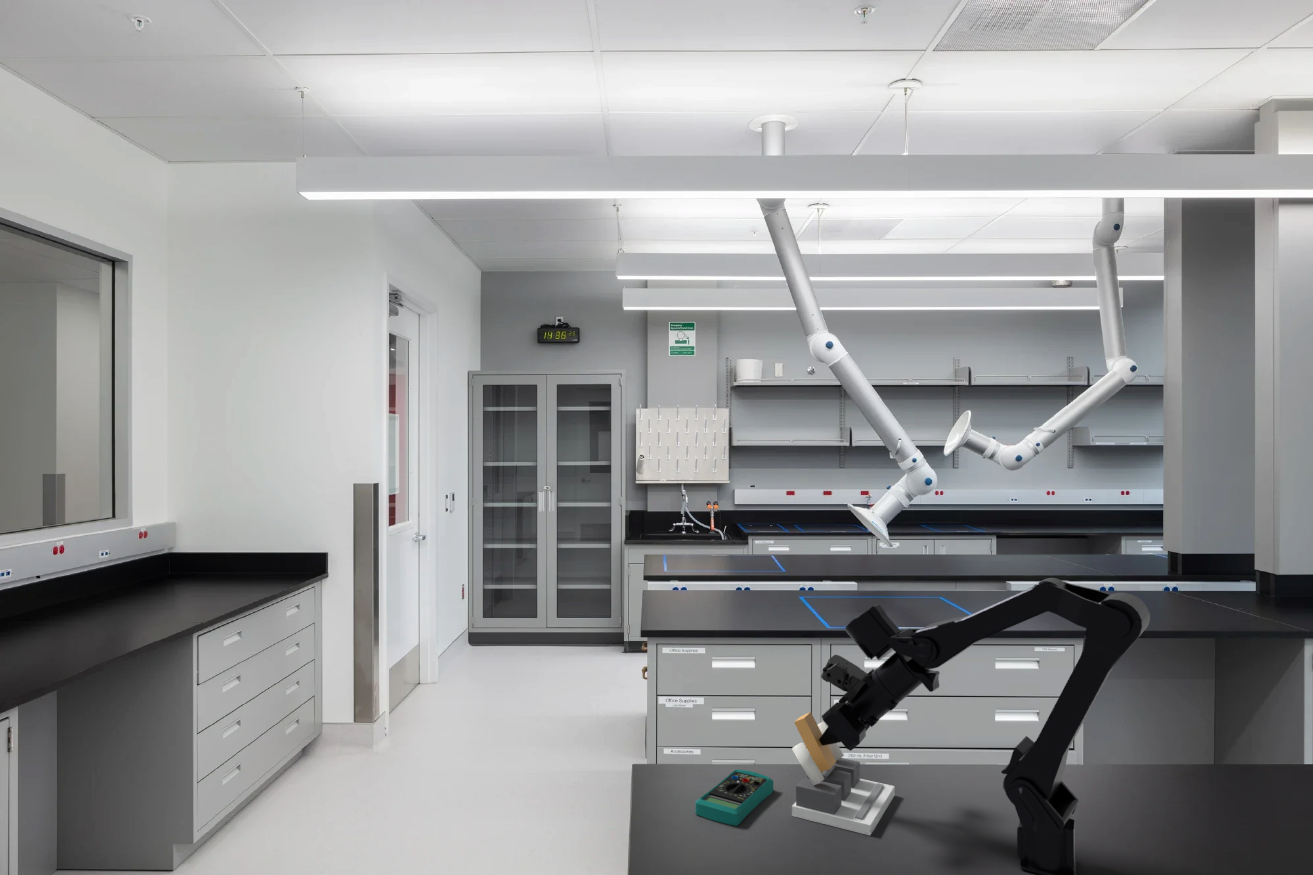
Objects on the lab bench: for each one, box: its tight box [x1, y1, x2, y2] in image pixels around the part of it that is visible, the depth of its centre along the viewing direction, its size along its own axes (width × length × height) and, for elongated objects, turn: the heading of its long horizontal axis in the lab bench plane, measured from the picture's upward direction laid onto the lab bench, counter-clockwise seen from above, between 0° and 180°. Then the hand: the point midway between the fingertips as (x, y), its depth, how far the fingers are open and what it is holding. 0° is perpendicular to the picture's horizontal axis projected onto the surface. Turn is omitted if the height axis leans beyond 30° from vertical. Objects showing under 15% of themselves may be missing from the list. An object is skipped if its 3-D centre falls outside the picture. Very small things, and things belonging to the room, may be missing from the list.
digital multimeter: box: [694, 769, 774, 827], centre depth 124 cm, size 7×15×3 cm, turn 148°
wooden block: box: [793, 711, 836, 777], centre depth 125 cm, size 2×4×9 cm
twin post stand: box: [791, 721, 896, 836], centre depth 123 cm, size 13×15×11 cm
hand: (821, 742), depth 125 cm, fingers closed, pressing on wooden block
